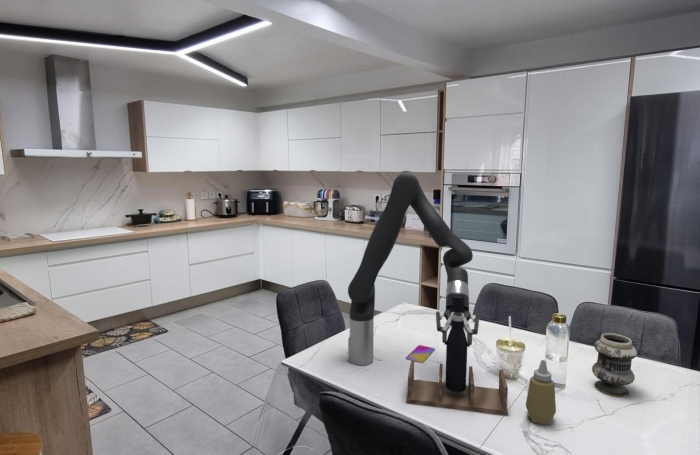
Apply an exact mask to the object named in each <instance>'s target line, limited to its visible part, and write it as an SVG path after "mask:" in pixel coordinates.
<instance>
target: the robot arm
mask: <svg viewBox="0 0 700 455" xmlns="http://www.w3.org/2000/svg"><path fill="white" fill-rule="evenodd" d="M409 207H411V209H413V210H414V212H415V213H416V215H417V216H418V218H419V220H420V222H421V223H422V225H423V226H424V228H425V230H426V231H427V232H428V234H429V235H430V237H431V238H432V241H433V242H434V243H435V244H436V245H437V246H438V247H440V248H442V247H443V248H444V247H449V248H450V249H448V250H446V251H445V252H444V254H443V257H442V262H443V266H444V268H445V272H446V275H447V276H446V290H445V311H444V312H440V311H439V310H438V311H435V321H436V331H437V332H440V333H441V334H442V336H441V337H442V339H441V342H442V343H443V344H444V345H445V346H446V345H447V339H448V331H449V330H450V329H451V320H452V319H453V318H452V317H453V316H452V315H453V313H454V307H452V295H463V296H465V306H464V308H462V313H461V314H463V320H464V331H465V333H466V339H467V348H469V347H470V346H472V344H473V335H478V332H479V326H480V325H479V324H480V314H478V313H476V314H471V313H470V290H469V274H468V271H467V270H466V268H463V267H462V266H464V265H466V264H468V263H471V262H472V260H473V256H474V254H473V251H472V249H471V247H470V246H469V245H468V244H467V243H466V242H464V241H463V240H462V239H461V238H459V237H458V236H457V235H456V234H455V233H454V232H453V231H452V229H451V228H450V227H449V225H447V223H446V221H445V220H444V219H443V217H442V216H441V215H440V214H439V212H437V210H436V209H435V208H434V206H433V205H432V204H431V202H430V201H429V199H428V198H427V196H426V195H425V193H424V191H423V189H422V187H421V185H420V181H419V179H418V177H417V176H416V175H414V174H413V173H410V172H403V173H400V174H399V175H397V176H396V177H395V178H394V179H393V184H392V188H391V191H390V194H389V198H388V200H387V202H386V205H385V208H384V209H383V211H382V213H381V215H380V216H379V218H378V220H377V222H376V223H375V225H374V227H373V229H372V231H371V234H370V237H369V239H368V241H367V244H366V247H365V250H364V253H363V256H362V259H361V262H360V265H359V266H358V268H357V271H356V273H355V274H354V276H353V278H352V279H351V281H350V283H349V284H348V287H347V295H348V298H349V299H350V302H351V303H350V309H349V336H348V339H347V343H348V344H347V349H348V350H347V353H348V354H347V362H348V363H350V364H351V363H352V364H354V365H357V366H367V365H370V364H372V363H373V362H374V337H375V336H374V334H375V333H374V324H375V322H374V318H375V317H374V314H375V304H376V303H375V302H376V300H375V299H376V285H375V282H376V280H377V277H378V275H379V273H380V271H381V270H382V267H383V266H384V264H385V263H386V261H387V260H388V258H389V256H390V254H391V252H392V250H393V249H394V246H395V244H396V242H397V239H398V237H399V234H400V232H401V229H402V224H403V220H404V218H405V215H406V213H407V210H408V209H409ZM443 318H445V319H446V322H445V323H444V325H443V326H441V320H443ZM470 319H471V321H472V322H473V323H474V328H471V326H470V324H469V321H470Z"/></svg>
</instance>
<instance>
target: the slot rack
mask: <svg viewBox="0 0 700 455" xmlns="http://www.w3.org/2000/svg"><path fill="white" fill-rule="evenodd" d="M443 365H444V364H443V363H439V370H438V372H439V373H438V381H430V380H422V379H415V362H414V361H412V360H411V361H410V364H409V369H408V376H407V394H406V400H405V401H406V404H410V405H417V406H426V407H434V408H443V409H449V410H457V411H465V412H474V413H481V414H488V415H490V414H491V415H497V416H505V417H508V416H509V410H508V394H509V393H508V391H509V388H508V383H507V380H506V377H505V372H504V370H503V369H501V368H499V371H498V372H499V373H498V388H495V387H486V386H476V385H475V378H474V371H473V366H470V365H469V366H468V384H466V389H465V390H464V391H462V392H454V391H450V390H448V389H447V388H446V386H445V382H443V372H444V370H443V367H444V366H443Z"/></svg>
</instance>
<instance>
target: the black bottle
mask: <svg viewBox="0 0 700 455" xmlns="http://www.w3.org/2000/svg"><path fill="white" fill-rule="evenodd" d="M464 306H465V296H463V295H452V307H454V313H453V315H452V316H453V317H452V318H453V319H452V320H451V327H450V329H449V332H448V334H447V345H445V347H446V350H445V351H446V352H445V353H446V354H445V382H444V383H445V386H446V388H447V389H448V390H450V391H454V392H462V391H464V390H465V389H466V385H467V371H468V370H467V369H468V368H467V367H468V366H467V365H468V364H467V363H468V347H467V334H466V331H465V329H464V320H463V314H461V313H462V308H464Z"/></svg>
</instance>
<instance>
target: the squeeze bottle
mask: <svg viewBox="0 0 700 455" xmlns="http://www.w3.org/2000/svg"><path fill="white" fill-rule="evenodd" d="M538 366H539V367H538V368H537V369H534V371H533V376H531V377H530V379H529V384H528V390H527V396H526V402H525V408H526V410H527V414H528V418H529V419H530V420H531V421H532V422H534V423H537V424H539V425H548V424H550V423H551V422H552V421H553V419H554V417H555V415H556V411H557V405H556V404H557V403H556V387H555V382H554V380H552V373H551V372H550V371H548V366H547V361H546V360H545V359H541V360H540V363H539V365H538Z"/></svg>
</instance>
